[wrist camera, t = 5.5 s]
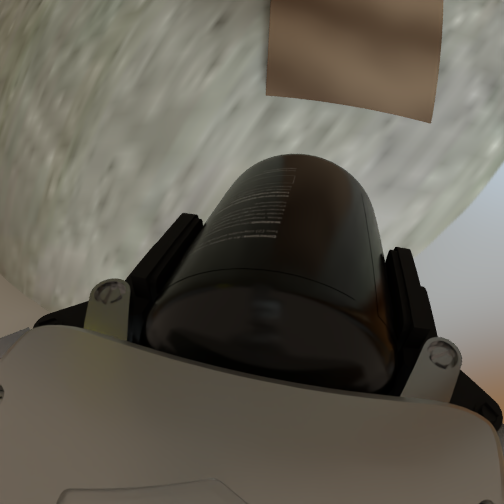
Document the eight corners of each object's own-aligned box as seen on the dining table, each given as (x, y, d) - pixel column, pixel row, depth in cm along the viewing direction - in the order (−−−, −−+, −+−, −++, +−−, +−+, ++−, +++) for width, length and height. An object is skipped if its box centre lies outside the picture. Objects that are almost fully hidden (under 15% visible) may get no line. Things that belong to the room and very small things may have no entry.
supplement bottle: (223, 266, 17) (114, 488, 7) (231, 137, 13) (-2, 381, 3) (353, 295, 16) (330, 544, 6) (395, 170, 12) (480, 504, 2)
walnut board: (276, -68, 14) (274, -73, 13) (438, -43, 12) (442, -46, 11) (268, 94, 22) (265, 95, 21) (427, 121, 20) (430, 123, 19)
